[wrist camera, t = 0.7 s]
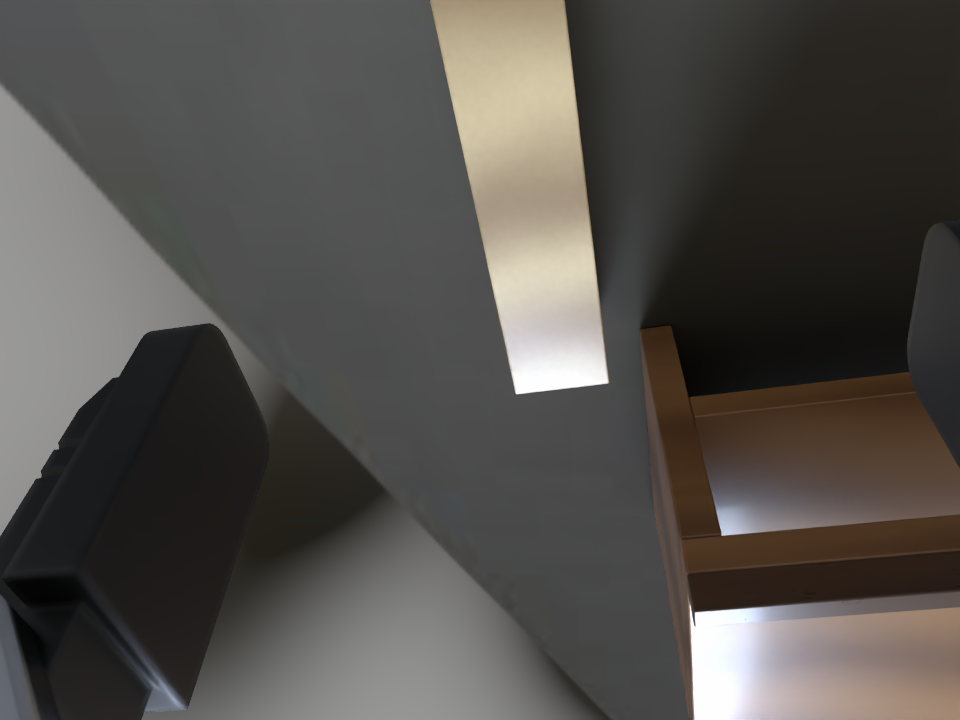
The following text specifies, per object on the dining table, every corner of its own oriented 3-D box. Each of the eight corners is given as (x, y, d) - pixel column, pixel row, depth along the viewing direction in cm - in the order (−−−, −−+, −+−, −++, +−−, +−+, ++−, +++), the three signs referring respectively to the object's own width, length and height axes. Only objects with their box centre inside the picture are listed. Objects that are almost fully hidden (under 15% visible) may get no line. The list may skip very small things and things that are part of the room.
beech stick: (425, -121, 22) (410, -86, 18) (545, -147, 21) (551, -115, 18) (515, 323, 31) (515, 394, 28) (599, 312, 31) (609, 383, 27)
